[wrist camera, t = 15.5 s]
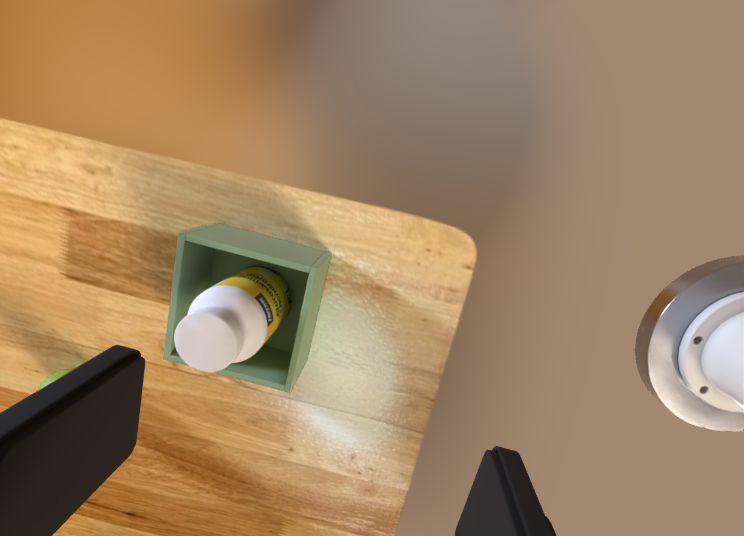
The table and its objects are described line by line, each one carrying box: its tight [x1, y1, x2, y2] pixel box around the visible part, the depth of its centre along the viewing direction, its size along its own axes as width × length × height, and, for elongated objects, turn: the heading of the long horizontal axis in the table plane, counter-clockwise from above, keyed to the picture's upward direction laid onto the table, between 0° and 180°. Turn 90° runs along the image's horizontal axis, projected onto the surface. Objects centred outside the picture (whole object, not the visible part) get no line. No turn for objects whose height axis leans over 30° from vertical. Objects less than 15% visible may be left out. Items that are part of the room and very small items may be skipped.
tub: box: [163, 223, 332, 393], centre depth 37 cm, size 12×12×6 cm
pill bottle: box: [174, 266, 292, 372], centre depth 34 cm, size 6×6×12 cm
